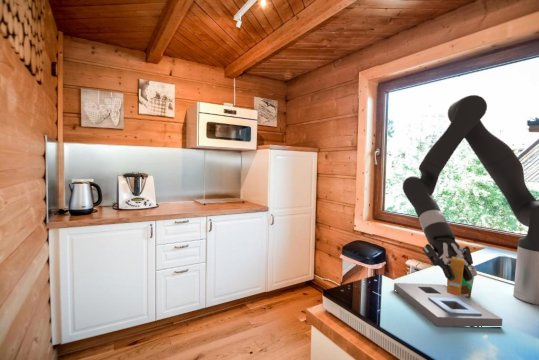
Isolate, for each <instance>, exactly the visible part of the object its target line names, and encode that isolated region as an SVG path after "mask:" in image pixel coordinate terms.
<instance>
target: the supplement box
mask: <svg viewBox="0 0 539 360" xmlns="http://www.w3.org/2000/svg"><path fill="white" fill-rule="evenodd" d="M464 262H465V261H464V259H462V258H458V257H457V256H456V257H453V256H452V257H451V263H450V267H451V269H452V271H453V273H454V275H455V279H454V280H452V281H449V280H448V284H447V283H446V286H447V293H450V294H454V295H458V296H460V293H461V285H462V277H463V269H464Z"/></svg>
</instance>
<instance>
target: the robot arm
mask: <svg viewBox="0 0 539 360" xmlns="http://www.w3.org/2000/svg"><path fill="white" fill-rule="evenodd" d="M487 109H488V103H487V102H486V99H484V98H483V97H482V96H480V95H476V94H472V95H467V96H464V97H462V98H461V99H458V100H456V101H455V102H454V103H452V104H451V105H450V106H449V107H448V109H447V118H448V120H449V122H450V123H449V125H448V126H447V128H446V129H445V131H444V132H443V134H441V136H439V138H438V139H437V140H436V141H435V142H434V144H433V145H432V146H431V148H429V150H428V151H427V153H426V154H425V156H424V158H423V159H422V161H421V163H420V165H419V166H418V171H419V172H420V175H421V176H420V177H418V176H414V175H413V176H412V175H411V176H408V177H407V178H405V179H404V181H403V183H402V190H403V193H404V195H405V197H406V199H408V202H409V203H410V205H412V207H413V208H414V211H415V213H416V216H417V218H418V220H419V224H420V227H421V229H422V231H423V233H424V236H425V238H426V240H427V242H428V243H427V244H425V245H424V247H422V251H423V252H424V254H425V255H426V256H427V258H428V259H429V261H430V263H431V264H432V265H433V266H435V267H437V266H438V267H439V268H440V269H441V270H442V272H443V274H444V276H445V278H446V279H447V278H448V280H449V281H452V280H454V279H455V275H454V273H453V271H452V269H451V267H450V265H448V259H451V257H452V256H453V257H458V258H462V259H464V261H465V262H464V269H463V277H464V280H465V281H468V282H469V281H470V280H472V278H473V276H472V274H471V272H470V270H469V268H468V267H469V266H470V265H473V264H474V260H473V257H472V253H471V248H470V247H469V246H468V245H465V246H461V245H460V244H459V243H457V241H456V236H455V234H454V232H453V230H452V227H451V226H450V223H449V222H448V220H447V218H446V217H445V215H444V214H443V212H442V211H441V208H440V207H439V205H438V203H437V201H436V200H435V199H434V198H433V197H432V195H433V193H434V192H435V190H436V187H437V183H438V180H439V177H440V174H441V173H442V171H443V169H444V168H445V167H446V166H447V164H448V162H449V161H450V159H451V157H452V156H453V154H454V152H455V151H456V150H457V148H458V147H459V146H460V144H461V142H463V140H464V139H465V141H466V143H468V145H469V147H470V148H471V150H472V152H474V154H475V156H476V157H477V158H478V161H479V162H480V164H481V165H482V166H483V168H484V169H485V170H486V172H487V173H488V175H489V176H490V178H491V179H492V180H493V182H494V183H495V185H496V186H497V188H498V189H499V190H500V192H501V194H503V196H504V197H505V199H506V201H507V204H508V205H509V208H510V209H511V211H512V213H513V215H514V217H515V218H516V220H517V221H518V222H519V224H521V225H523V226H525V227H527V229H528V230H527V233H526V235H525V236H523V237H520V238H519V239H518V240H517V251H516V252H517V253H516V262H515V272H514V273H515V275H514V284H513V285H514V286H513V294H512V295H513V296H514V297H515V298H517V299H518V300H520V301H523V302H526V303H530V304H533V305H536V306H539V200H537V199H536V197H534V195H533V194H532V193H531V191H530V190H529V188H528V187H527V185H526V181H525V173H524V168H523V164H522V163H521V160H520V159H519V158H518V156H517V154H515V152H514V151H513V149H512V148H511V147H510V146H509V145H508V144H507V143H506V142H504V141H503V140H501V139H500V138H498V137H497V136H496V135H494V134H492V133H491V131H489V130H488V128H486V126H485V124H484V123H483V122H482V120H481V119H483V118H484V116H485V115H486V113H487Z"/></svg>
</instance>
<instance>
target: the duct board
mask: <svg viewBox="0 0 539 360" xmlns="http://www.w3.org/2000/svg"><path fill="white" fill-rule="evenodd" d="M394 290H396V291H397V292H398V293H399V294H400V295H401V296H402V297H401V296H400V295H399V294H398V293H397V292H396V291H395V292H396V293H397V294H398V295H399V296H400V297H401V298H402V299H404V300H405V301H406V302H407V303H408V304H409V305H411V306H412V307H413V308H414V309H416V310H417V311H418V312H419V313H420V314H422V316H424V317H425V318H426V319H427V320H429V321H430V322H431V323H432V324H434V326H436V327H440V328H441V327H446V328H447V327H448V328H452V327H451V326H460V327H459V328H465V327H464V326H477V327H479V326H481V327H482V326H502V327H503V318H502V317H500V316H498V315H497V314H495V313H494V312H491V310H489V309H487V308H485V307H483V306H481V305H479V303H476V302H475V301H473V300H471V299H470V298H466V297H465V296H463V295H461V294H460V296H458V295H454V294H450V293H447V284H435V283H434V284H433V283H410V282H409V283H408V282H394V284H393V291H394ZM449 326H450V327H449ZM461 326H462V327H461Z"/></svg>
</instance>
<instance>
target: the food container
mask: <svg viewBox="0 0 539 360" xmlns="http://www.w3.org/2000/svg"><path fill="white" fill-rule="evenodd" d="M450 263H451V259H450V258H448V265H450ZM468 268H469V270H470V272H471V274H472V276H473V278H472V280H470V281H469V282H468V281H465V280H464V277H462V285H461V293H460V294H461V295H463V296H465V297H466V298H468V299H470V298H471V296H472V290H473V287H474V286H473V284H474V280H475V277H477V276H478V272H477V269H476V267H475V266H474V265H473V264H471V265H470V266H469V267H468ZM446 279H447V280H446V281H447V282H446V285H447V284H448V278H446Z"/></svg>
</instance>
